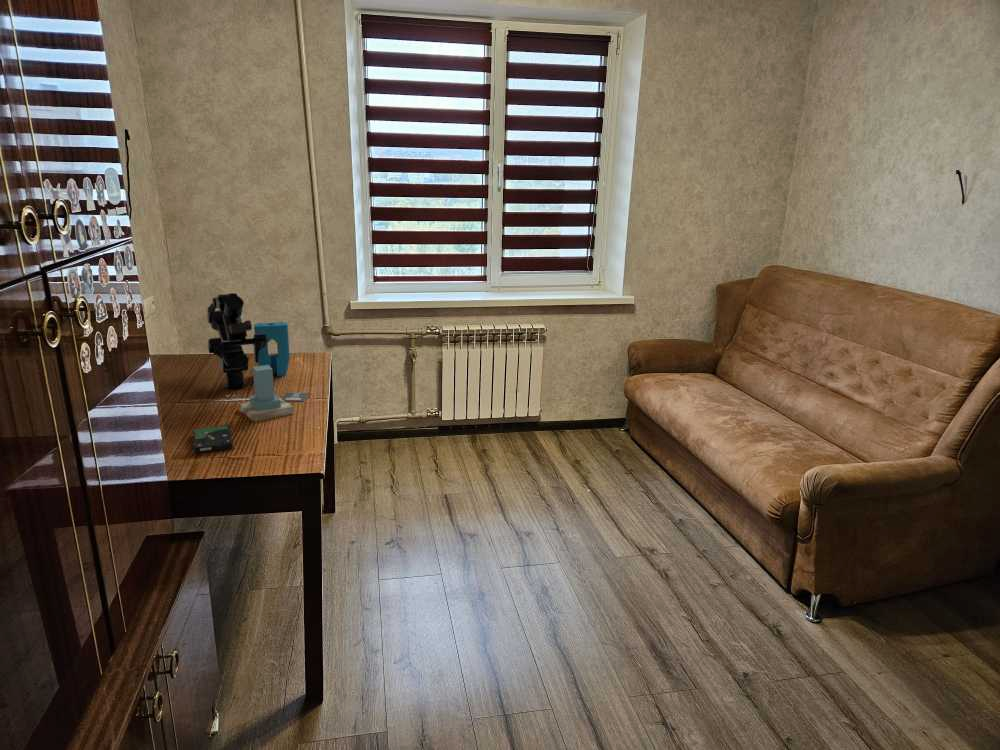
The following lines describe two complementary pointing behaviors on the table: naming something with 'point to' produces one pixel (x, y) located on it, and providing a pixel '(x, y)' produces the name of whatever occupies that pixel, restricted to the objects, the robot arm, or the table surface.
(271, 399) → the teal block
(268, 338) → the block
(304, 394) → the slate card
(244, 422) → the table surface
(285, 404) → the cream base block
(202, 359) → the table surface
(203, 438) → the disk drive
